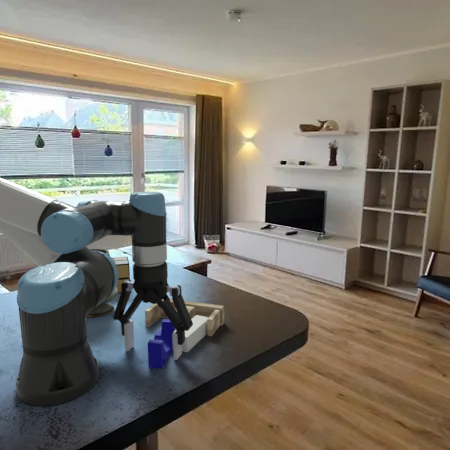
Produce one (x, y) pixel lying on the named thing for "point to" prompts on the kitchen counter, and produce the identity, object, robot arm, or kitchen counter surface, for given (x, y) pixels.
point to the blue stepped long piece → (160, 345)
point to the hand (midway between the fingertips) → (153, 352)
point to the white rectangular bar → (194, 333)
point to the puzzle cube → (122, 270)
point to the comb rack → (191, 314)
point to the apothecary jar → (104, 306)
